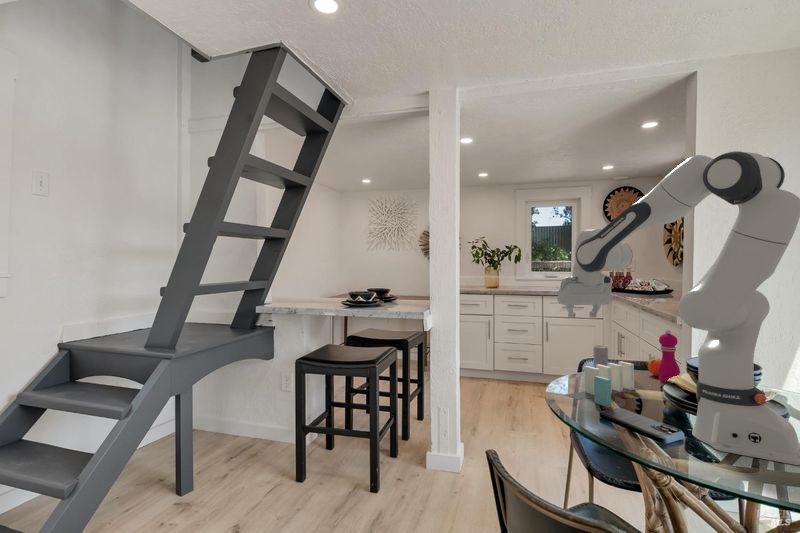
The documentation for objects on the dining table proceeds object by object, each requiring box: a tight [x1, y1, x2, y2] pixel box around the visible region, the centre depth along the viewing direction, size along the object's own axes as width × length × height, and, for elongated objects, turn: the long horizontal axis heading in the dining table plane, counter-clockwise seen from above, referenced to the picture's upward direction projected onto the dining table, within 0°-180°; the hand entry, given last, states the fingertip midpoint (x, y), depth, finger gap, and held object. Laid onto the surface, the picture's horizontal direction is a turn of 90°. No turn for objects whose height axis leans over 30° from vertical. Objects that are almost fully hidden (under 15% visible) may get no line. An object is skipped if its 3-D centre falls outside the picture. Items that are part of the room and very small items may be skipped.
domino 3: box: [594, 376, 612, 408], centre depth 132 cm, size 2×5×9 cm, turn 23°
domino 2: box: [596, 364, 612, 393], centre depth 146 cm, size 2×5×9 cm, turn 23°
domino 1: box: [584, 365, 600, 395], centre depth 144 cm, size 2×5×9 cm, turn 22°
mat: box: [565, 387, 638, 401], centre depth 146 cm, size 29×6×1 cm, turn 113°
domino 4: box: [607, 362, 623, 393], centre depth 148 cm, size 2×5×9 cm, turn 23°
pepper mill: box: [658, 329, 681, 383], centre depth 159 cm, size 7×7×20 cm
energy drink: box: [593, 345, 609, 368], centre depth 169 cm, size 5×5×12 cm
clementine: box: [646, 358, 661, 377], centre depth 168 cm, size 8×7×7 cm
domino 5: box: [617, 360, 635, 391], centre depth 150 cm, size 2×5×9 cm, turn 22°
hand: (582, 317), depth 141 cm, fingers open, 8 cm apart
